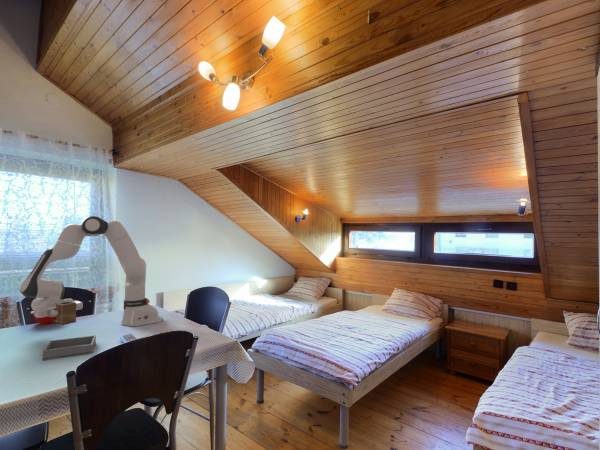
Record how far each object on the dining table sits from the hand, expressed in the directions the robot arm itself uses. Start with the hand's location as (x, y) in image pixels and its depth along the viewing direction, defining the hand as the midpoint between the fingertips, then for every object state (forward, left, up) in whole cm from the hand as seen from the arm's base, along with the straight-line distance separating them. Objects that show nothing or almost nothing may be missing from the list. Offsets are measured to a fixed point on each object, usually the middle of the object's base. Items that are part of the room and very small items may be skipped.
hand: (67, 311), depth 160 cm
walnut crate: (0, -1, -6) cm, 6 cm away
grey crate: (-4, +16, -15) cm, 23 cm away
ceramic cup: (+15, -42, -16) cm, 47 cm away
